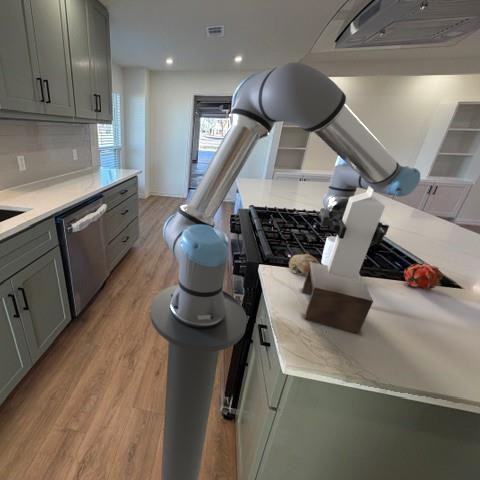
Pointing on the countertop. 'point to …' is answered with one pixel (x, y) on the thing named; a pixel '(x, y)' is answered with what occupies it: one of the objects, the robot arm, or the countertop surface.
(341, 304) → the dark wooden crate
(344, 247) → the milk
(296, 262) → the tan rounded lump
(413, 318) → the countertop surface
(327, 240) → the white cup
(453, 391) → the countertop surface
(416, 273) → the dragon fruit
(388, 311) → the countertop surface
